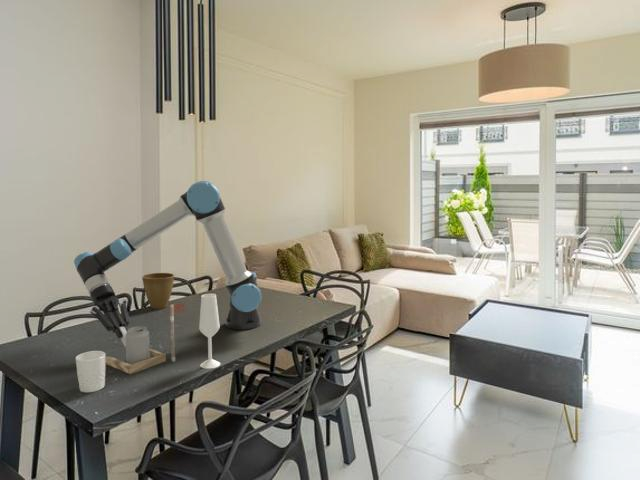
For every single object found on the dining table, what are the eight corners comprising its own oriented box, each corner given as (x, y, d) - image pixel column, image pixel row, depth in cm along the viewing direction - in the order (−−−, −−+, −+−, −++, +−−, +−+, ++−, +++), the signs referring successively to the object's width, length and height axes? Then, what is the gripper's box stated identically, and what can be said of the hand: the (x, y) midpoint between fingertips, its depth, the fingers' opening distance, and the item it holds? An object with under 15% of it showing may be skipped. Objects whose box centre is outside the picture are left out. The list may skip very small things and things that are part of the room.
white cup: (98, 379, 139) (96, 348, 138) (112, 386, 135) (110, 354, 134) (72, 389, 133) (70, 356, 132) (86, 396, 129) (84, 362, 127)
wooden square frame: (186, 357, 158) (184, 302, 155) (125, 380, 139) (122, 317, 137) (147, 343, 171) (145, 292, 168) (87, 363, 152) (84, 305, 150)
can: (143, 367, 149) (141, 333, 147) (122, 366, 150) (120, 331, 148) (154, 359, 156) (153, 325, 154) (134, 357, 157) (132, 324, 155)
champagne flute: (222, 360, 155) (220, 293, 152) (218, 368, 149) (216, 298, 146) (202, 360, 155) (200, 293, 152) (198, 368, 148) (196, 298, 145)
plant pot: (156, 313, 212) (155, 279, 210) (136, 308, 219) (135, 276, 217) (181, 305, 224) (180, 274, 222) (162, 301, 232) (160, 271, 230)
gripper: (113, 292, 169) (141, 344, 162) (78, 299, 158) (106, 355, 151) (120, 280, 165) (149, 333, 158) (85, 287, 155) (114, 343, 147)
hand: (128, 344), depth 154 cm, fingers closed
